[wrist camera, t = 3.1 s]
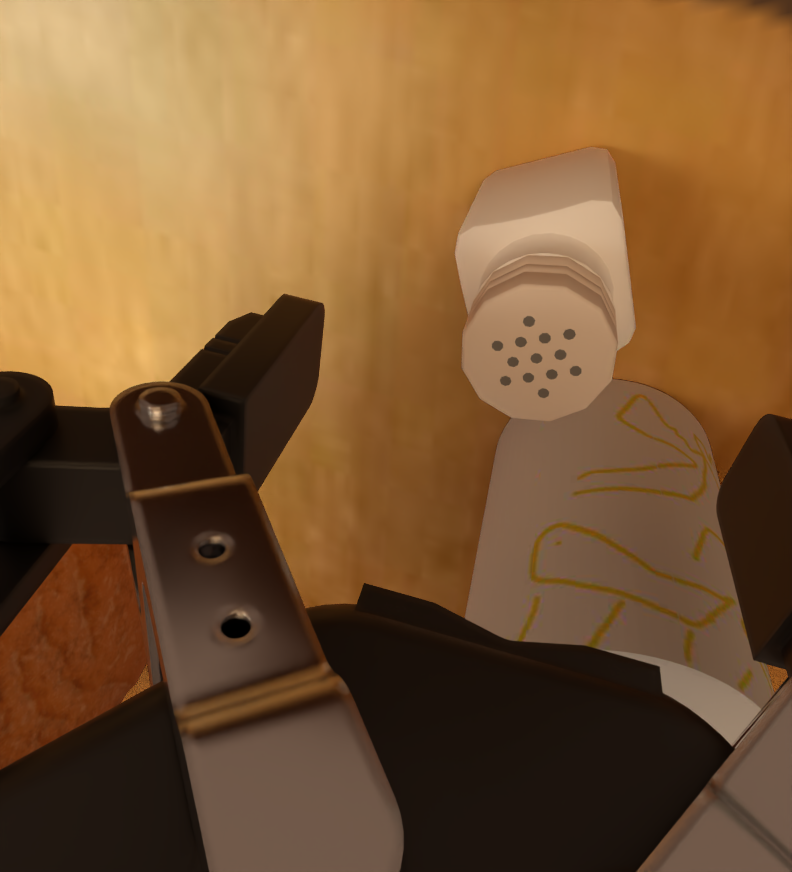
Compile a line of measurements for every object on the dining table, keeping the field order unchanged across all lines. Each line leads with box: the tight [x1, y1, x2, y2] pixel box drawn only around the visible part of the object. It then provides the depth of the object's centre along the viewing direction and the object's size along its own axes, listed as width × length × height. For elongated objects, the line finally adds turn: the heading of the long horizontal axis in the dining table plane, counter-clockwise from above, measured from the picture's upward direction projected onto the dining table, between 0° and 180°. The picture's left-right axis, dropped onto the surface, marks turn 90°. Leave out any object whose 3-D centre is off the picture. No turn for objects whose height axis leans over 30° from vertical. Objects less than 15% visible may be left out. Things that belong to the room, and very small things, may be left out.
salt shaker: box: [455, 147, 636, 422], centre depth 18 cm, size 4×4×10 cm
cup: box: [465, 379, 774, 745], centre depth 22 cm, size 8×8×12 cm
